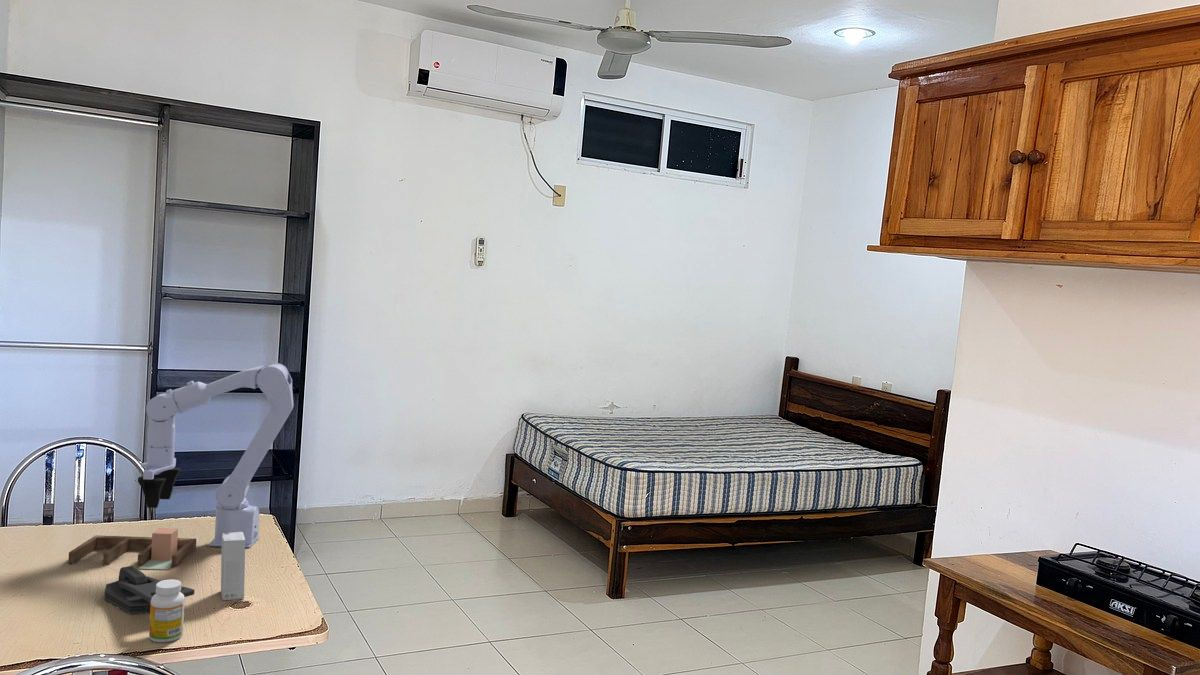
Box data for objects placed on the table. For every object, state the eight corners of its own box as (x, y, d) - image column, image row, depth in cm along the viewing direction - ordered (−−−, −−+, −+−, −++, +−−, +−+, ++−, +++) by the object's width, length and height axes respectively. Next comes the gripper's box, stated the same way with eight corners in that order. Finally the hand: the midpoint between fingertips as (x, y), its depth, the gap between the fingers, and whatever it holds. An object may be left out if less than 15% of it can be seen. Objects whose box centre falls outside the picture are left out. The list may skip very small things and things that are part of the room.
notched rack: (195, 549, 202) (196, 538, 202) (172, 570, 187) (173, 558, 187) (95, 546, 199) (95, 535, 199) (63, 567, 185) (64, 555, 185)
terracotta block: (176, 554, 196) (177, 528, 196) (170, 560, 193) (171, 533, 192) (158, 554, 196) (159, 528, 196) (151, 559, 192) (152, 533, 192)
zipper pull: (148, 599, 154) (99, 562, 171) (147, 636, 154) (98, 595, 171) (200, 589, 160) (148, 553, 177) (198, 624, 161) (146, 585, 178)
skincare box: (244, 599, 174) (247, 539, 173) (220, 601, 172) (223, 541, 171) (242, 588, 180) (245, 530, 179) (218, 590, 178) (221, 532, 177)
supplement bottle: (156, 628, 157) (158, 576, 156) (187, 630, 157) (190, 578, 156) (143, 642, 151) (146, 588, 150) (176, 643, 152) (179, 590, 151)
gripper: (155, 439, 210) (152, 494, 211) (129, 451, 195) (127, 510, 196) (185, 440, 211) (183, 495, 211) (163, 452, 196) (160, 511, 197)
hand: (158, 503), depth 204 cm, fingers open, 7 cm apart
